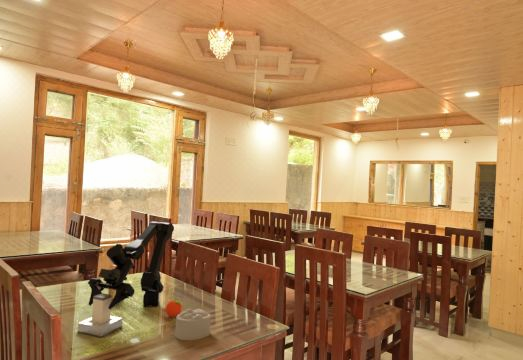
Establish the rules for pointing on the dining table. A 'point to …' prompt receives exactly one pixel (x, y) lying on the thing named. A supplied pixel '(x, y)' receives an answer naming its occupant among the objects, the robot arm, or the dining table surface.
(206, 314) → the lumpy-topped squat cylinder
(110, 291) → the candy box
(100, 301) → the plug
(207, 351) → the dining table surface
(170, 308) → the tomato
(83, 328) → the socket
